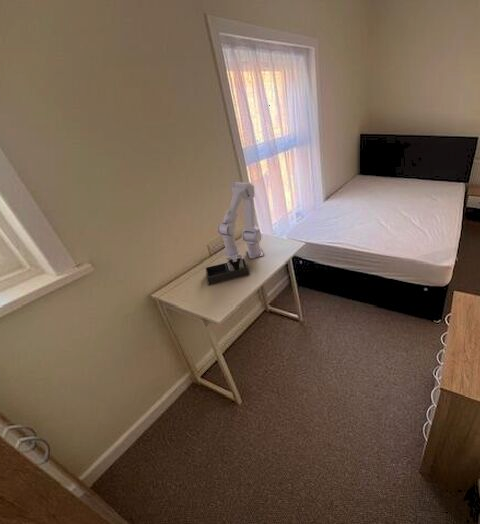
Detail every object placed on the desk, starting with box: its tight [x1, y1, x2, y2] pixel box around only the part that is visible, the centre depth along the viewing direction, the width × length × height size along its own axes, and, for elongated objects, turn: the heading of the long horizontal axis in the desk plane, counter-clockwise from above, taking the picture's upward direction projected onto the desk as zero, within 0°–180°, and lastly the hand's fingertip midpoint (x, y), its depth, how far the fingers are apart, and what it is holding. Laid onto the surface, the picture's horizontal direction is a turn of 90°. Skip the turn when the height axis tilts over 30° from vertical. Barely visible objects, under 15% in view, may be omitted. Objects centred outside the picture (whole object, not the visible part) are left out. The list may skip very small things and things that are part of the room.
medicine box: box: [225, 254, 244, 272], centre depth 154 cm, size 8×4×9 cm, turn 117°
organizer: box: [205, 258, 250, 286], centre depth 154 cm, size 11×21×5 cm, turn 115°
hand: (236, 266), depth 155 cm, fingers open, 7 cm apart
